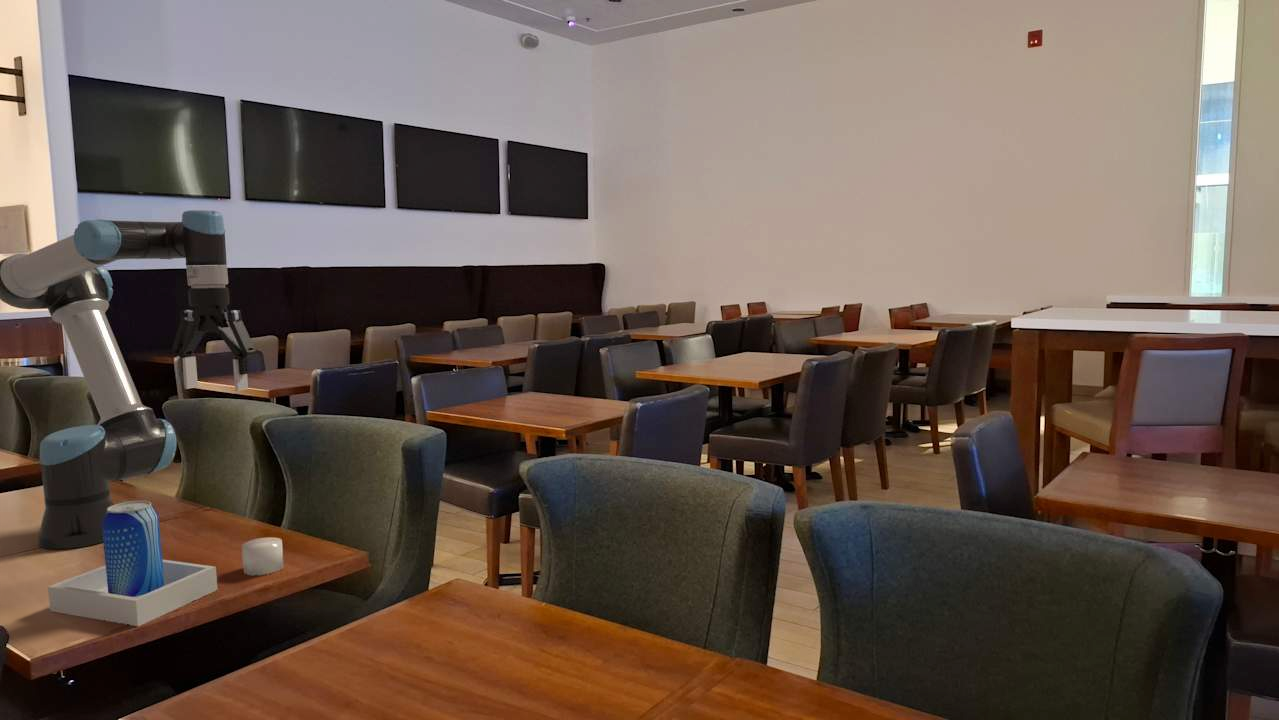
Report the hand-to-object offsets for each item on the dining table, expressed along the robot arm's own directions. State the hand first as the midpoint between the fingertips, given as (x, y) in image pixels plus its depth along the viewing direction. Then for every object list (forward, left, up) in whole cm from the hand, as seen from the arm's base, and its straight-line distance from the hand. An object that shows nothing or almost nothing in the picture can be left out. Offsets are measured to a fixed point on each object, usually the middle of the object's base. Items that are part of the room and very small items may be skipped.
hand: (216, 389), depth 180 cm
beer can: (+12, -32, -31) cm, 46 cm away
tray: (+12, -32, -32) cm, 47 cm away
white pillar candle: (+22, -13, -32) cm, 41 cm away
